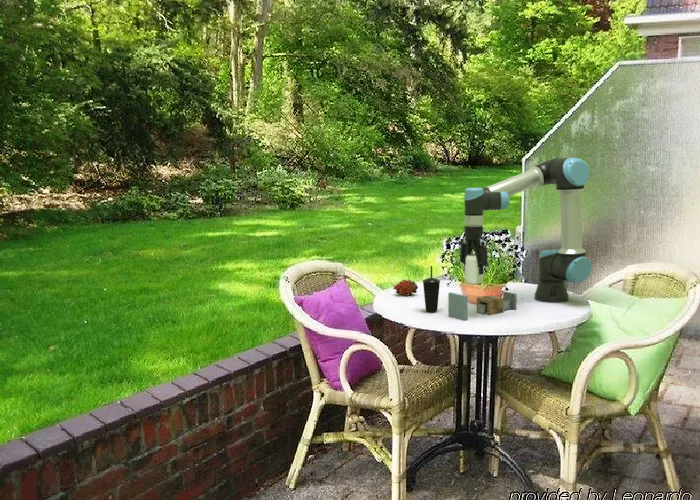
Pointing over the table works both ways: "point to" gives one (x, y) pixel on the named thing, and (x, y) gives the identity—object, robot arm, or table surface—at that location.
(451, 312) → the end plate
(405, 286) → the red pine cone
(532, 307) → the table surface
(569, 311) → the table surface
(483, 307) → the shaft
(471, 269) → the can
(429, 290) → the drinking cup
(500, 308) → the tan wooden block
